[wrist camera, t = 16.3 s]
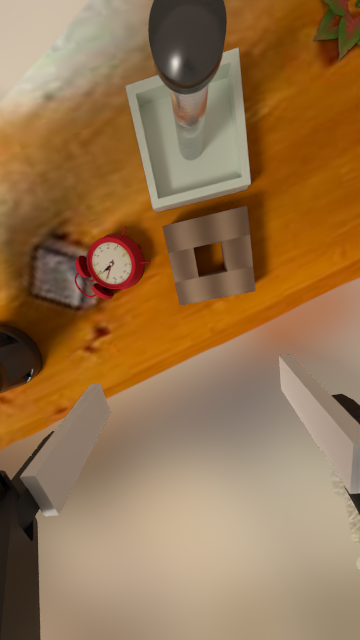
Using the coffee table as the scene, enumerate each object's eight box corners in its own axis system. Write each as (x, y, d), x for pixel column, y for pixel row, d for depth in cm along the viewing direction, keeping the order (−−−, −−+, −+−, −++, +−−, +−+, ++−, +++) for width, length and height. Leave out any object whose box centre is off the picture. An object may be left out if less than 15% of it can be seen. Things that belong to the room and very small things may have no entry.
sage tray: (156, 212, 37) (153, 208, 33) (132, 103, 32) (125, 85, 29) (245, 190, 35) (250, 183, 32) (233, 69, 30) (238, 47, 27)
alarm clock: (156, 268, 37) (89, 315, 37) (155, 269, 43) (98, 310, 43) (120, 216, 34) (48, 266, 34) (125, 225, 40) (64, 268, 40)
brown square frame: (181, 300, 42) (179, 305, 38) (165, 228, 38) (162, 226, 34) (249, 287, 40) (255, 290, 36) (241, 210, 36) (247, 205, 32)
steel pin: (177, 172, 34) (159, 91, 17) (168, 128, 32) (139, -11, 15) (212, 162, 33) (231, 66, 16) (206, 116, 31) (220, -45, 14)
